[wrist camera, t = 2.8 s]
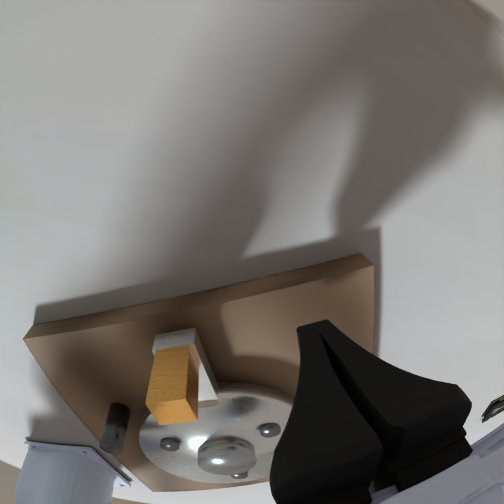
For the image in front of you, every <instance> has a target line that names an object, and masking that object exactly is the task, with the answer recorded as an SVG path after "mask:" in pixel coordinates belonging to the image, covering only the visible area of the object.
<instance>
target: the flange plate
mask: <svg viewBox="0 0 504 504" xmlns="http://www.w3.org/2000/svg"><path fill="white" fill-rule="evenodd" d="M152 352H153V354H154V356H155V357H154V362H153V366H152V371H151V376H150V381H149V386H148V392H147V397H146V402H145V404H146V406H147V407H148V409H147V410H146V412H145V413H144V415H143V418H142V422H141V428H140V434H139V443H140V447H141V449H142V451H143V453H144V454H145V455H146V457H147V458H148V459H149V460H150V461H151V462H152V463H154V464H155V465H157V466H158V467H159V468H161V469H163V470H165V471H167V472H169V473H171V474H173V475H176V476H179V477H182V478H185V479H189V480H194V481H198V482H206V483H240V482H247V481H253V480H257V479H261V478H265V477H268V476H270V469H271V464H272V459H273V455H274V450H275V448H276V446H277V444H278V442H279V440H280V437H281V435H282V433H283V431H284V429H285V426H286V423H287V421H288V418H289V415H290V412H291V409H292V406H293V402H294V399H293V398H291V397H289V396H288V395H286V394H284V393H281V392H279V391H276V390H274V389H270V388H267V387H263V386H257V385H252V384H243V383H217V381H216V379H215V376H214V374H213V371H212V369H211V367H210V364H209V362H208V359H207V357H206V354H205V352H204V349H203V346H202V344H201V341H200V339H199V336H198V333H197V331H196V328H190V329H185V330H179V331H174V332H169V333H163V334H158V335H156V336H155V340H154V344H153V348H152Z"/></svg>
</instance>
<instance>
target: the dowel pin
mask: <svg viewBox="0 0 504 504" xmlns="http://www.w3.org/2000/svg"><path fill="white" fill-rule="evenodd" d="M130 413H131V411H130V409H129V408H128V407H127V406H126V405H124V404H122V403H112V404H111V405H110V408H109V411H108V415H107V419H106V422H105V426H104V430H103V434H102V438H101V442H100V447H101V448H102V449H103V450H104V451H106V452H108V453H111V454H117V455H118V454H122V453H123V448H124V443H125V438H126V433H127V427H128V423H129V418H130Z"/></svg>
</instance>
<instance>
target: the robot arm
mask: <svg viewBox="0 0 504 504" xmlns="http://www.w3.org/2000/svg"><path fill="white" fill-rule="evenodd" d="M296 332H297V338H298V345H299V351H300V369H299V378H298V384H297V390H296V394H295V398H294V402H293V406H292V409H291V412H290V415H289V418H288V421H287V423H286V426H285V429H284V431H283V433H282V435H281V437H280V440H279V442H278V444H277V446H276V448H275V450H274V455H273V459H272V464H271V469H270V478H269V479H270V487H271V493H272V496H273V498H274V500H275V502H276V504H504V490H503V488H504V423H503V424H501V425H500V426H499V427H497V428H496V429H495V430H493V431H492V432H490V433H489V434H487V435H486V436H484V437H483V438H481V439H480V440H478V441H477V442H475V443H474V444H472V445H469V443H468V441H467V440H466V438H465V436H466V431H465V429H464V428H463V425H464V423H465V421H466V419H467V417H468V415H469V413H470V411H471V407H472V402H471V401H470V399H469V398H468V397H467V395H466V394H465V393H464V392H463V390H462V389H461V388H460V387H459V386H458V385H456V384H450V383H445V382H440V381H435V380H431V379H428V378H424V377H421V376H418V375H415V374H412V373H410V372H407V371H404V370H402V369H399V368H397V367H395V366H393V365H391V364H389V363H387V362H385V361H383V360H381V359H380V358H378V357H376V356H375V355H373V354H372V353H370V352H368V351H367V350H365V349H364V348H363V347H361V346H360V345H358V344H357V343H356V342H354V341H353V340H352V339H350V338H349V337H348V336H346V335H345V334H344V333H343V332H342V331H340V330H339V329H338V328H337V327H336V326H335V325H334V324H332V323H331V322H330V321H329V320H327V319H325V320H321V321H317V322H314V323H310V324H306V325H302V326H298V328H297V329H296ZM24 445H25V446H26V447H27V448H28V449H29V450H28V452H27V455H26V458H25V460H24V463H23V466H22V469H21V472H20V475H19V478H18V481H17V484H16V487H15V500H16V504H111V499H112V493H113V487H130V486H131V484H130V483H129V482H128V481H127V480H126V479H125V478H124V477H122V476H121V475H120V474H119V473H118V472H117V471H116V470H115V469H114V468H112V467H111V466H110V465H109V464H108V463H107V462H106V461H105V460H104V459H103V458H102V457H101V456H100V455H99V454H98V453H97V452H96V451H95V450H94V449H92V448H90V447H80V446H66V445H55V444H46V443H38V442H31V441H25V443H24Z"/></svg>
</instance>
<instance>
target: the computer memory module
mask: <svg viewBox="0 0 504 504" xmlns="http://www.w3.org/2000/svg"><path fill="white" fill-rule="evenodd" d="M502 411H504V395H503V396H501V397H500V398H498V399H496V400H494V401H492V402H491V403H490V405H489V407H488V408H487V409H486V411H485V412H484V413H483V415H482V418H481V420H482V423H483V422H485V421H487V420H488V419H489V418H490V417H491V416H492V417H493V416H495V415H496V414H499V413H500V412H502ZM492 417H491V418H492Z"/></svg>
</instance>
